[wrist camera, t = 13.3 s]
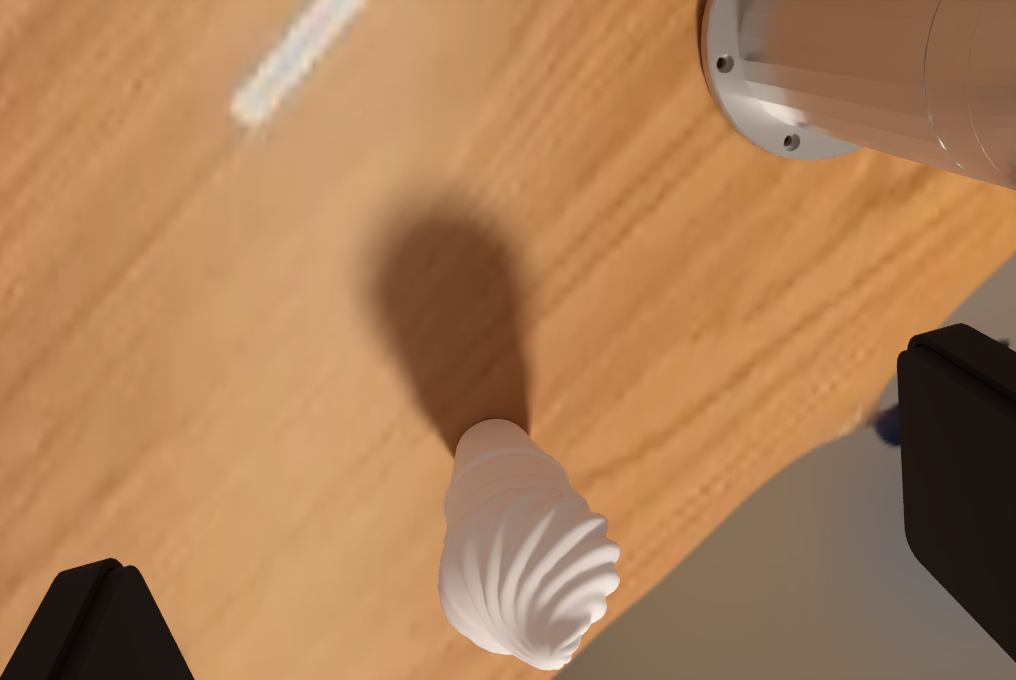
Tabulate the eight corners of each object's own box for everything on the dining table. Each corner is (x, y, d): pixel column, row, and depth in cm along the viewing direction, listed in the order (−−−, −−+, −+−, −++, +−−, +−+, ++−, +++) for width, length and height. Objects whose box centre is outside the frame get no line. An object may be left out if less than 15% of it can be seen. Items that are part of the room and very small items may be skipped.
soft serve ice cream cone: (411, 395, 46) (437, 580, 31) (561, 374, 47) (654, 543, 32) (428, 525, 49) (459, 747, 35) (569, 502, 50) (657, 709, 36)
